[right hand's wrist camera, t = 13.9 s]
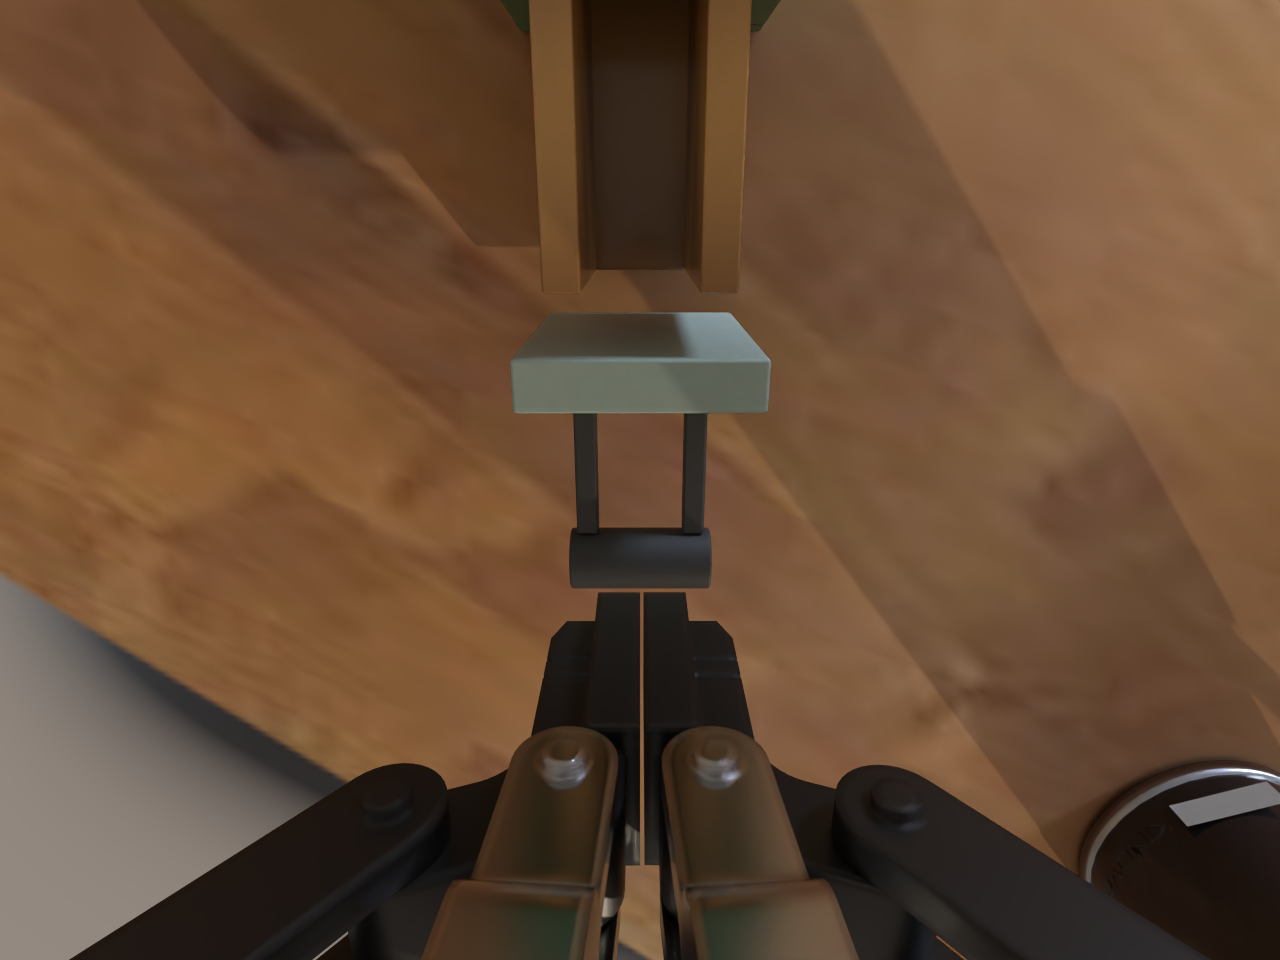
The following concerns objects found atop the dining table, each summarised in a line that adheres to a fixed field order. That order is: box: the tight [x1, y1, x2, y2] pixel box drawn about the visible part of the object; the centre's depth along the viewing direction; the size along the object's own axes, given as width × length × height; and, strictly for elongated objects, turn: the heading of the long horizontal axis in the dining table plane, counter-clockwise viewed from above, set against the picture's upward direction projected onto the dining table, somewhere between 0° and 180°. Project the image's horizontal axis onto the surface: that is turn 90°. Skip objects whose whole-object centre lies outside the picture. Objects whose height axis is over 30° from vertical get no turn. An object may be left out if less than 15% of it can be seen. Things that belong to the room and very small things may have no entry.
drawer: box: [510, 0, 771, 588], centre depth 17 cm, size 26×6×7 cm, turn 0°
